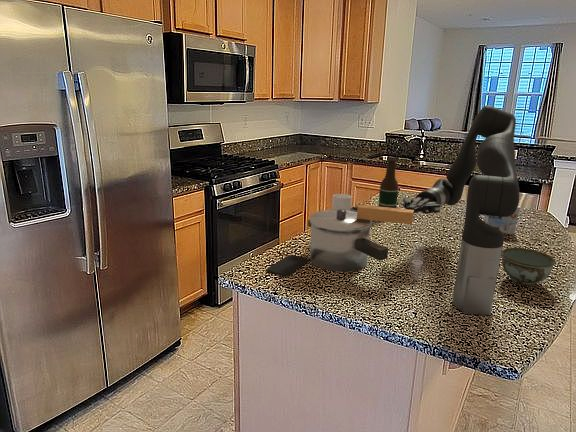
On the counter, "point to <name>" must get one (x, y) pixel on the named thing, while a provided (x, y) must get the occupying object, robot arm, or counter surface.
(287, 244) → the counter surface
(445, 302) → the counter surface
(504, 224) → the light bulb box
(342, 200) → the drinking glass
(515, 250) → the bowl
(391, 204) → the beer bottle
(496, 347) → the counter surface
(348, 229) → the lid
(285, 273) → the phone
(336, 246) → the pot
